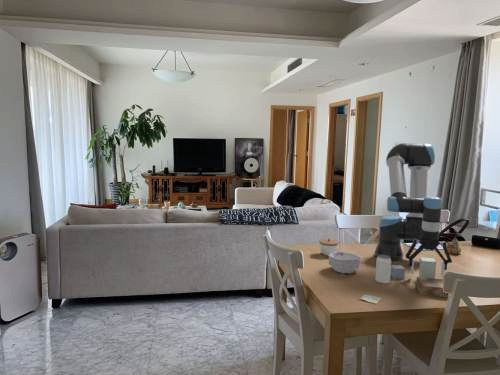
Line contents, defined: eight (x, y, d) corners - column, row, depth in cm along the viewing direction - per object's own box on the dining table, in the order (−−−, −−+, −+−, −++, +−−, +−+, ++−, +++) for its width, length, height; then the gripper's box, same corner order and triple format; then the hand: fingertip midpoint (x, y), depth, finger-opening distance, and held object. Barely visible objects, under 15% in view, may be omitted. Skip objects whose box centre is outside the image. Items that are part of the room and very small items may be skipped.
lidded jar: (340, 253, 214) (341, 238, 213) (334, 258, 205) (334, 242, 204) (322, 250, 220) (323, 235, 218) (315, 255, 211) (316, 239, 209)
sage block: (420, 281, 172) (422, 260, 171) (418, 277, 178) (420, 257, 177) (434, 283, 171) (436, 262, 170) (432, 278, 176) (433, 258, 175)
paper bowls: (338, 263, 196) (339, 249, 195) (365, 271, 185) (366, 255, 185) (322, 270, 186) (323, 254, 185) (349, 278, 175) (350, 262, 174)
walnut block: (419, 294, 158) (420, 285, 157) (416, 284, 168) (416, 276, 168) (448, 297, 154) (449, 288, 154) (442, 288, 165) (443, 279, 164)
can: (388, 285, 167) (389, 259, 166) (373, 282, 171) (375, 256, 169) (391, 280, 173) (392, 255, 171) (377, 277, 176) (378, 253, 175)
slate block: (393, 278, 176) (394, 268, 175) (390, 274, 181) (390, 265, 180) (404, 278, 176) (404, 268, 175) (400, 275, 181) (401, 265, 180)
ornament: (443, 252, 220) (445, 236, 218) (446, 250, 224) (447, 234, 223) (458, 255, 214) (460, 238, 213) (461, 253, 219) (462, 237, 218)
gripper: (402, 229, 172) (399, 274, 174) (461, 234, 164) (457, 280, 167) (401, 226, 179) (398, 269, 181) (457, 230, 172) (454, 275, 174)
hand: (426, 274), depth 174 cm, fingers open, 12 cm apart
